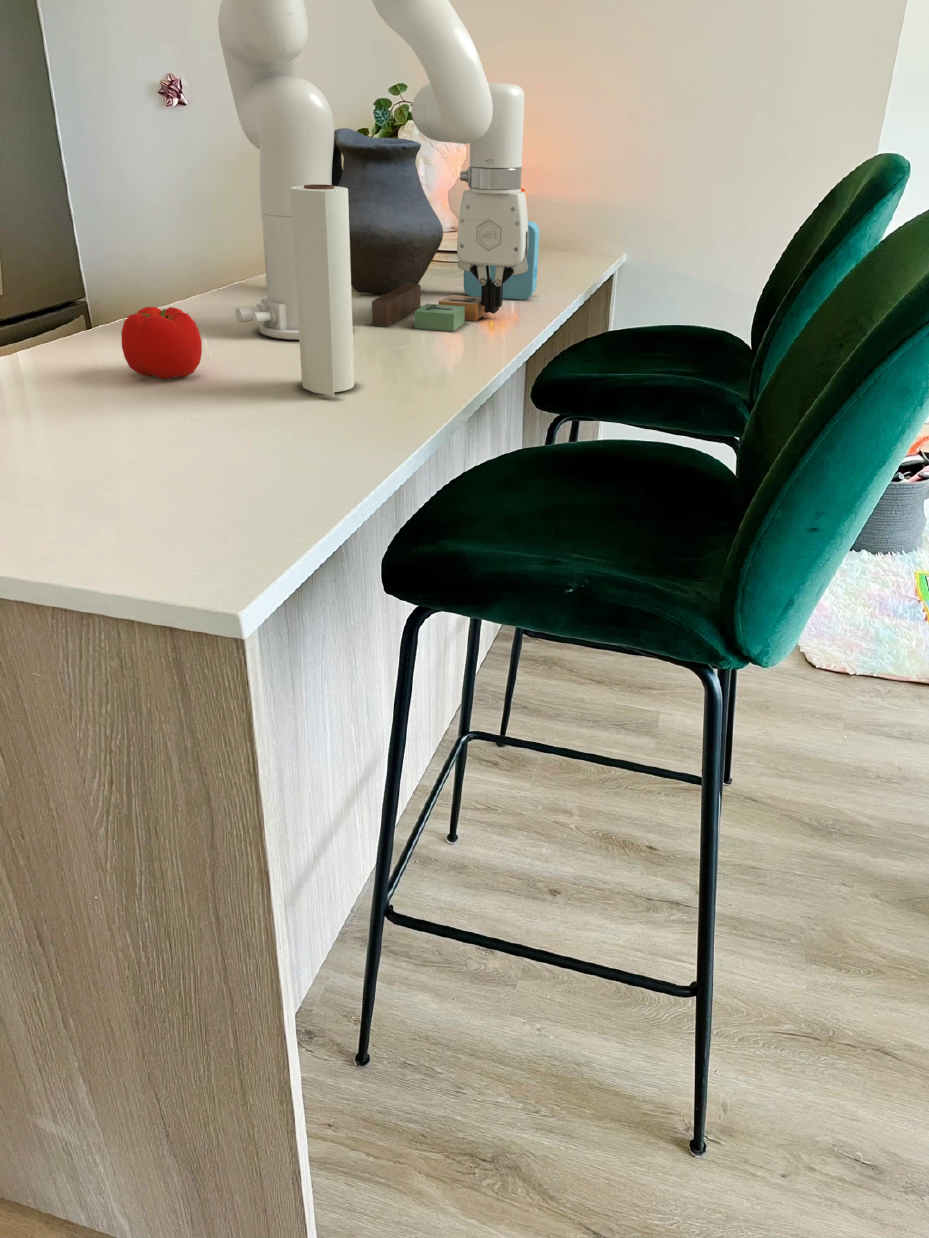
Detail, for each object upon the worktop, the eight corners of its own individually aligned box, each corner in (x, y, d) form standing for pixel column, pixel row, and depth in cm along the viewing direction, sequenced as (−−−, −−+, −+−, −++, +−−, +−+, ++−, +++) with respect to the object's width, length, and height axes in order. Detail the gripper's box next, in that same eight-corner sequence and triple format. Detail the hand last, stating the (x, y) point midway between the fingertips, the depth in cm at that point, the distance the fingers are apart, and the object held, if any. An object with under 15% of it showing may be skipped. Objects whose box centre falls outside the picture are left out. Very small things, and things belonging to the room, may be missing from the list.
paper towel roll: (318, 378, 113) (308, 182, 103) (363, 384, 111) (357, 185, 101) (286, 393, 107) (273, 186, 97) (334, 399, 105) (325, 190, 95)
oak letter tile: (475, 321, 144) (476, 303, 143) (438, 318, 146) (438, 300, 144) (485, 314, 149) (486, 297, 148) (449, 311, 151) (449, 294, 149)
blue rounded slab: (536, 296, 164) (540, 221, 158) (532, 300, 160) (536, 224, 154) (468, 292, 166) (470, 218, 160) (462, 296, 162) (464, 221, 156)
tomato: (167, 389, 107) (159, 321, 104) (111, 377, 111) (101, 312, 108) (223, 372, 115) (217, 308, 111) (169, 361, 118) (161, 299, 115)
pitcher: (396, 306, 153) (394, 133, 141) (293, 291, 163) (283, 128, 151) (463, 288, 168) (466, 131, 156) (365, 275, 178) (361, 127, 166)
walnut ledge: (387, 326, 139) (387, 302, 138) (372, 325, 140) (371, 301, 138) (420, 307, 153) (420, 284, 151) (406, 306, 153) (406, 283, 152)
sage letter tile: (453, 331, 138) (453, 313, 136) (414, 328, 139) (414, 310, 138) (464, 323, 143) (465, 305, 141) (426, 320, 144) (426, 302, 143)
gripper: (438, 181, 136) (438, 312, 144) (540, 185, 132) (533, 320, 141) (453, 177, 142) (452, 303, 151) (551, 181, 138) (543, 310, 147)
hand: (491, 311), depth 146 cm, fingers closed
